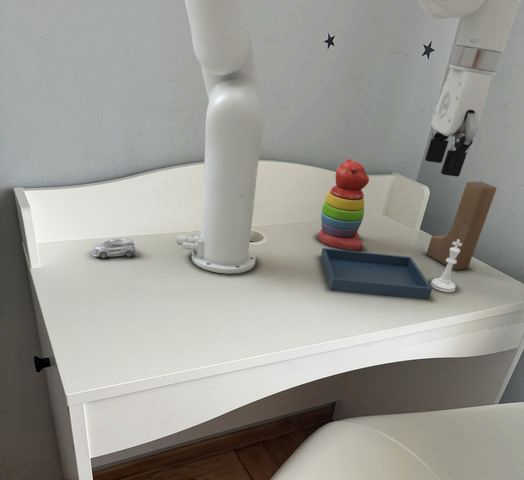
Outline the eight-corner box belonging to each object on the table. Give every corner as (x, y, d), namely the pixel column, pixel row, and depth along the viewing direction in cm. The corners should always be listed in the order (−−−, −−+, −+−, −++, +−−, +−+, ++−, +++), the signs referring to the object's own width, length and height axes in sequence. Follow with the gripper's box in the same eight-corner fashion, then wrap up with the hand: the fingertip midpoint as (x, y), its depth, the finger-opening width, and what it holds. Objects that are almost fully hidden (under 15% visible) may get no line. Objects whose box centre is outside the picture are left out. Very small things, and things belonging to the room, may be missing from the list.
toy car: (90, 251, 99) (89, 236, 97) (132, 249, 102) (132, 235, 100) (93, 259, 96) (92, 244, 94) (136, 257, 99) (136, 242, 98)
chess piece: (456, 294, 102) (473, 246, 97) (431, 289, 103) (446, 241, 97) (453, 284, 106) (469, 237, 101) (429, 279, 107) (444, 233, 101)
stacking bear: (363, 252, 115) (382, 170, 106) (318, 247, 115) (334, 164, 105) (356, 235, 125) (373, 158, 115) (315, 230, 124) (328, 153, 114)
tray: (330, 290, 97) (332, 279, 96) (320, 258, 110) (322, 247, 108) (428, 299, 99) (432, 288, 97) (408, 266, 111) (411, 256, 110)
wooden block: (425, 254, 119) (449, 175, 109) (439, 252, 121) (464, 174, 111) (454, 270, 113) (483, 188, 103) (468, 268, 115) (498, 187, 105)
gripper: (437, 54, 92) (409, 154, 101) (471, 62, 77) (435, 178, 86) (477, 61, 92) (445, 159, 102) (519, 70, 78) (477, 184, 87)
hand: (441, 168), depth 94 cm, fingers open, 9 cm apart
